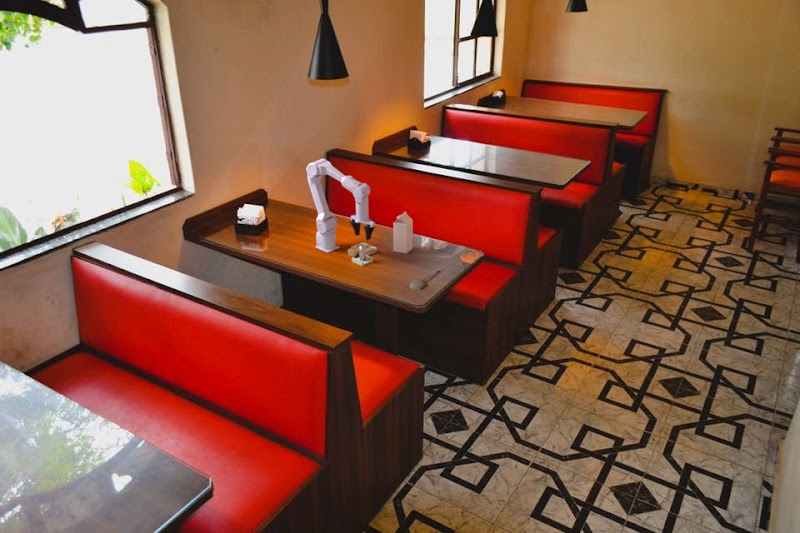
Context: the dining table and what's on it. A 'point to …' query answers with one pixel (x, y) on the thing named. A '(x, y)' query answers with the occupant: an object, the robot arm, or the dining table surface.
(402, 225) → the milk carton
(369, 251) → the socket block
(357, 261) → the pad
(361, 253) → the peg
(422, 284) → the soupspoon
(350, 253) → the block
